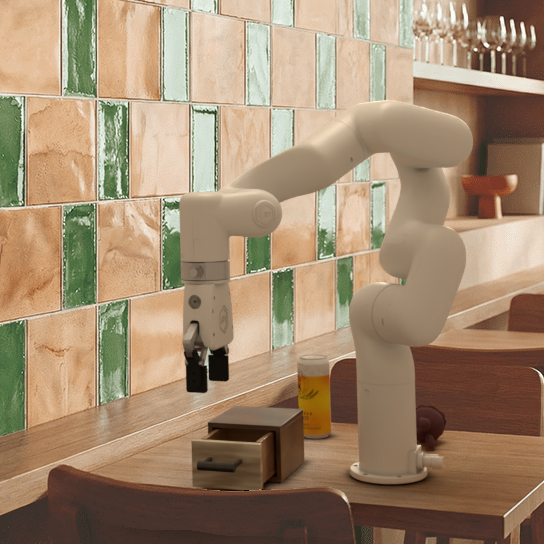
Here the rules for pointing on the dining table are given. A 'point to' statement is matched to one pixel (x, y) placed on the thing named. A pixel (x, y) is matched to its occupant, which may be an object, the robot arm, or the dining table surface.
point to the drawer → (234, 459)
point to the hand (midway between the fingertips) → (208, 386)
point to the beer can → (314, 395)
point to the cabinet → (270, 419)
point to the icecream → (429, 425)
